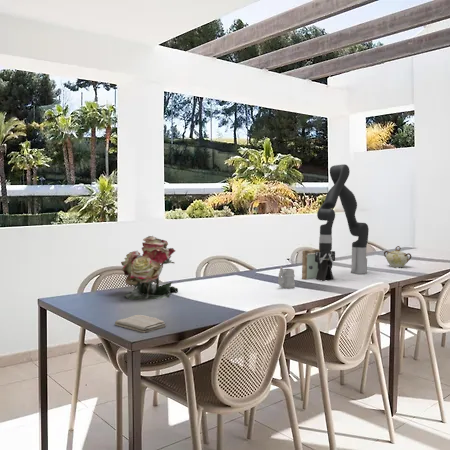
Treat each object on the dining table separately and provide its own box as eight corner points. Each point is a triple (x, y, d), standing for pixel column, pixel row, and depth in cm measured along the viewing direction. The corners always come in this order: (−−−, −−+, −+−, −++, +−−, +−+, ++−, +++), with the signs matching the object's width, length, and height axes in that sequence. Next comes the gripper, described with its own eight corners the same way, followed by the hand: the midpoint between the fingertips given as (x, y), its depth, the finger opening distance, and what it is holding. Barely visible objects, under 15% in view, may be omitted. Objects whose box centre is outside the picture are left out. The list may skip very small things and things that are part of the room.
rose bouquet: (125, 289, 263) (125, 233, 261) (180, 290, 262) (180, 234, 260) (112, 300, 238) (112, 237, 236) (173, 301, 237) (173, 238, 235)
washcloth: (145, 334, 183) (145, 326, 182) (113, 326, 193) (113, 318, 193) (168, 327, 192) (168, 319, 192) (136, 320, 203) (136, 312, 203)
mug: (297, 287, 275) (298, 265, 274) (283, 289, 267) (284, 267, 266) (287, 285, 281) (287, 264, 280) (273, 287, 273) (273, 266, 272)
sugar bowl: (414, 267, 356) (415, 246, 355) (407, 269, 345) (408, 248, 344) (387, 264, 369) (388, 244, 368) (379, 266, 357) (380, 245, 356)
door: (323, 276, 311) (324, 253, 310) (326, 276, 308) (327, 253, 308) (305, 278, 303) (305, 254, 302) (308, 278, 301) (308, 254, 300)
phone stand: (323, 281, 296) (323, 261, 295) (315, 279, 301) (316, 259, 300) (333, 279, 301) (334, 259, 300) (326, 278, 306) (326, 258, 305)
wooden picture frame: (326, 276, 312) (327, 248, 311) (328, 276, 311) (329, 249, 309) (301, 278, 302) (302, 250, 301) (304, 279, 300) (304, 250, 299)
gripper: (330, 240, 306) (329, 267, 307) (312, 241, 299) (311, 268, 300) (338, 242, 300) (338, 268, 301) (320, 243, 292) (320, 270, 293)
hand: (324, 268), depth 300 cm, fingers open, 8 cm apart
